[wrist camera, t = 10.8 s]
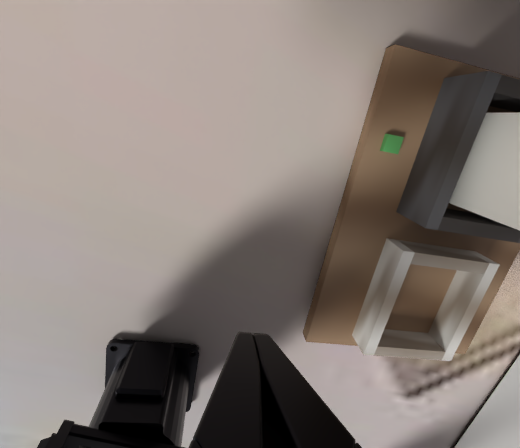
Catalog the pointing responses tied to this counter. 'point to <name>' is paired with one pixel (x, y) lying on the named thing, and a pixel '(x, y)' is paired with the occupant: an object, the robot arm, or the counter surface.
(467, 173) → the plug
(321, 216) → the counter surface
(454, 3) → the counter surface
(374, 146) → the brown board with frames
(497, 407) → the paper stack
